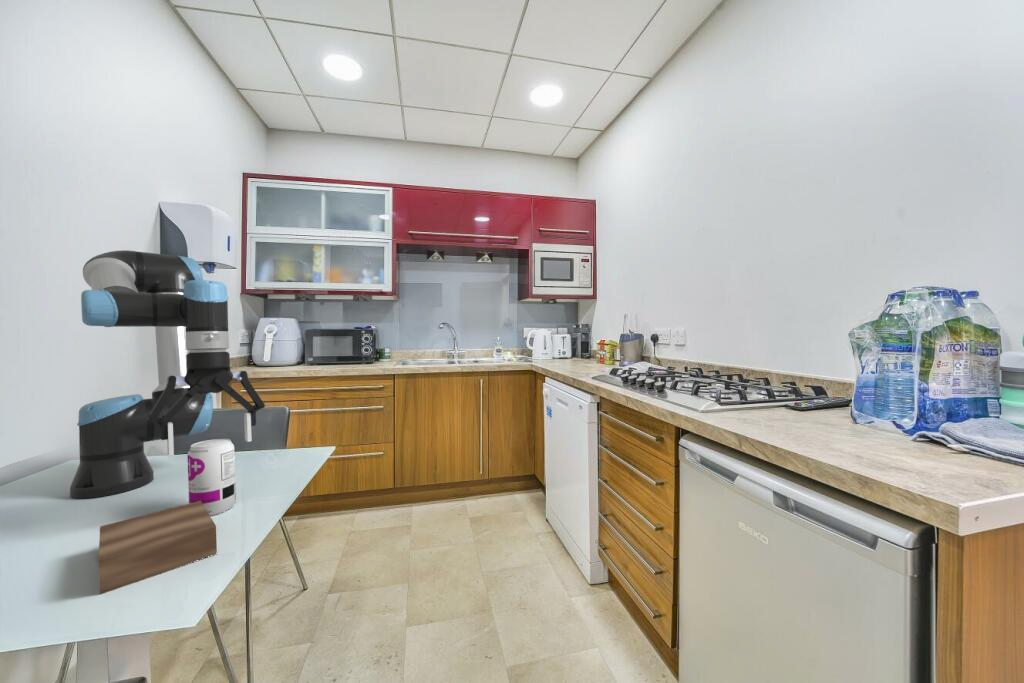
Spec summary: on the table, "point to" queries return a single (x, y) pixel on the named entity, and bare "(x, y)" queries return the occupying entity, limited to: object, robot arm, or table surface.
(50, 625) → the table surface
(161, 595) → the table surface
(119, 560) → the walnut base
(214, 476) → the supplement can
